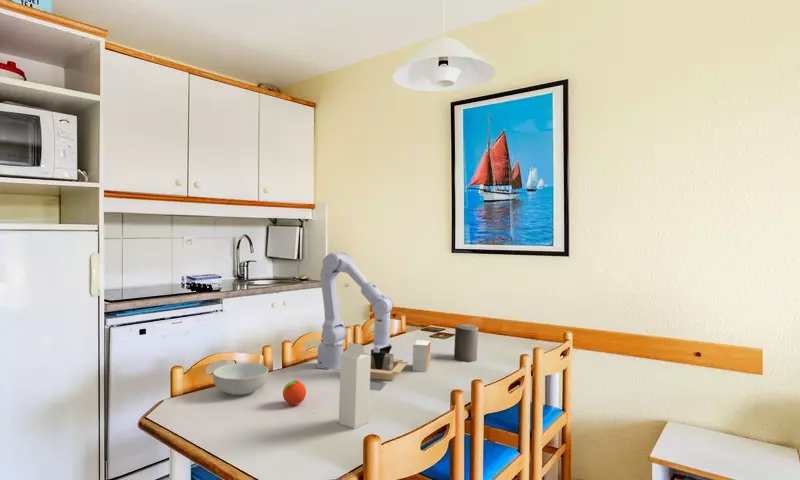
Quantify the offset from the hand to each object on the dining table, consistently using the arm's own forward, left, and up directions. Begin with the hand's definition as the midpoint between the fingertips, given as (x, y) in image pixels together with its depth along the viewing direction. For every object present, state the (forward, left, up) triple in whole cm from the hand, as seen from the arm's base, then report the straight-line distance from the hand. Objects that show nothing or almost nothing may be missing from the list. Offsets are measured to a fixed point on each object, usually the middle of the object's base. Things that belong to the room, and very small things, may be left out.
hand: (381, 367), depth 174 cm
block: (0, 0, -1) cm, 1 cm away
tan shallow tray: (0, 0, -3) cm, 3 cm away
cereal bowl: (-38, -32, -3) cm, 50 cm away
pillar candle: (+28, +32, -3) cm, 43 cm away
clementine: (-17, -37, -3) cm, 41 cm away
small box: (+13, +11, -3) cm, 17 cm away
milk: (+5, -44, -3) cm, 44 cm away
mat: (-1, -14, -3) cm, 14 cm away
